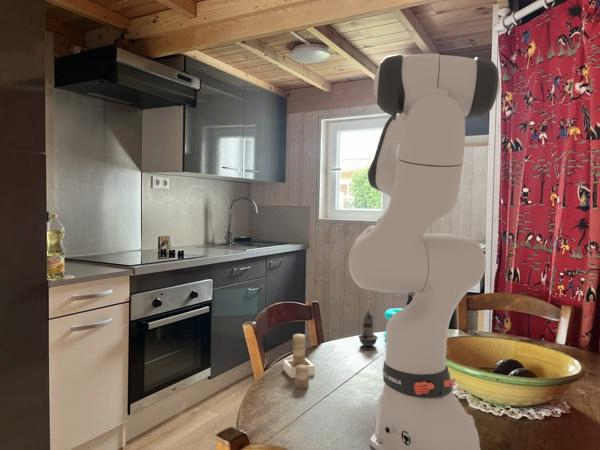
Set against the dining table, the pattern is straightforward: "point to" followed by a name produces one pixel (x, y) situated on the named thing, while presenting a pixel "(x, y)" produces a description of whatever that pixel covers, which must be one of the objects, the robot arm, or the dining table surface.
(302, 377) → the short pin
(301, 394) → the dining table surface
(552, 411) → the dining table surface
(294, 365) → the long pin
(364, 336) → the dark grey chess piece
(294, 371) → the socket
